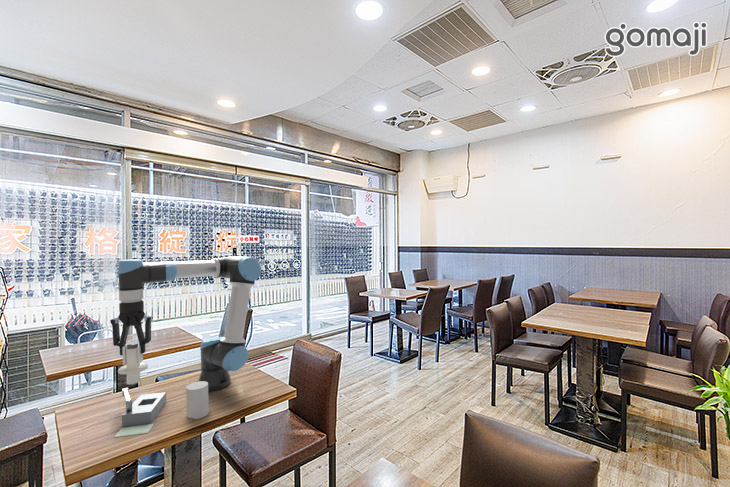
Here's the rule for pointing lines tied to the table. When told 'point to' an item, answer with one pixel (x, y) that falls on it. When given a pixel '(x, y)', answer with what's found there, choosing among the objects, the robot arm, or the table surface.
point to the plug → (132, 365)
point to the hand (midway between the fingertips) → (133, 362)
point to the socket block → (144, 409)
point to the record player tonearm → (127, 400)
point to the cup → (197, 399)
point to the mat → (134, 430)
